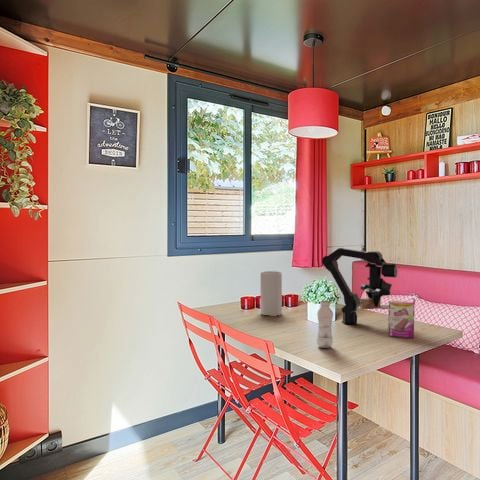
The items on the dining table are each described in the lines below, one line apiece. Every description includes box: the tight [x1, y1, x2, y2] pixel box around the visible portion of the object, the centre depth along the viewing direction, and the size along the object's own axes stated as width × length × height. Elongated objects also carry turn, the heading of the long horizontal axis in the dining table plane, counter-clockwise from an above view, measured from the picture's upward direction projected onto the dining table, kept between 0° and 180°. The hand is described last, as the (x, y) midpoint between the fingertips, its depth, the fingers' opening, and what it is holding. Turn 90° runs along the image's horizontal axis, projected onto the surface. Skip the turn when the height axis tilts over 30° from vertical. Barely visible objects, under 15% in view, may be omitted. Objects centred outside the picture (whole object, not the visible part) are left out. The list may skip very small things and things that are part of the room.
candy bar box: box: [387, 300, 415, 339], centre depth 176 cm, size 11×5×16 cm, turn 71°
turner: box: [359, 297, 389, 310], centre depth 192 cm, size 17×6×5 cm, turn 100°
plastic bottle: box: [316, 300, 334, 349], centre depth 161 cm, size 6×7×20 cm
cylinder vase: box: [260, 270, 283, 317], centre depth 222 cm, size 12×12×25 cm
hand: (374, 306), depth 192 cm, fingers closed on turner, 2 cm apart
